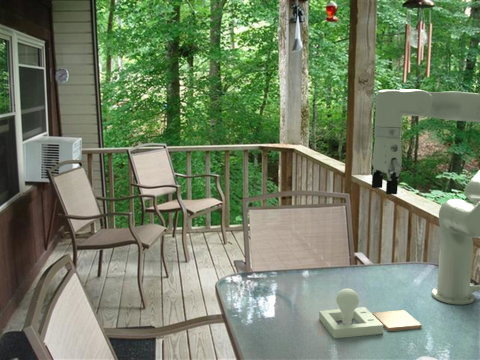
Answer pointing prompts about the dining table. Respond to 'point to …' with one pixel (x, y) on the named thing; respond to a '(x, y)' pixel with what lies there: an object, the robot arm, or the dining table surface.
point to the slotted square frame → (361, 315)
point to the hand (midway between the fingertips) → (383, 190)
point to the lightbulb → (347, 304)
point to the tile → (397, 320)
